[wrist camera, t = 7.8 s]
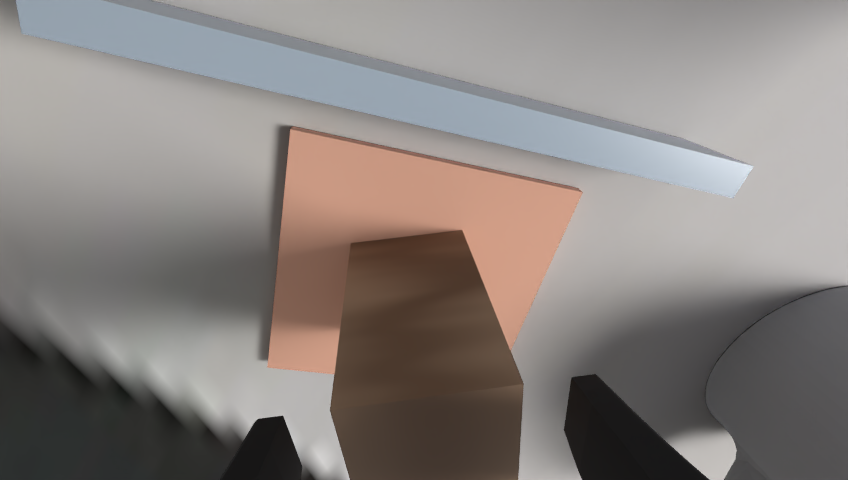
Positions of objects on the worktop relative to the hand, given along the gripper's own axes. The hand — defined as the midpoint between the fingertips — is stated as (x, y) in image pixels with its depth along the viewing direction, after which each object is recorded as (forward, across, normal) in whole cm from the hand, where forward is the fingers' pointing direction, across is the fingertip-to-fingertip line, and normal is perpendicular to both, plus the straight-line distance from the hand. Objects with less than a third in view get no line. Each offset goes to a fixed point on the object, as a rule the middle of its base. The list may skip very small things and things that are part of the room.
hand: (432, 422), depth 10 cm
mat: (+6, 0, 0) cm, 6 cm away
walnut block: (+6, 0, 0) cm, 6 cm away
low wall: (+6, -1, -7) cm, 9 cm away
